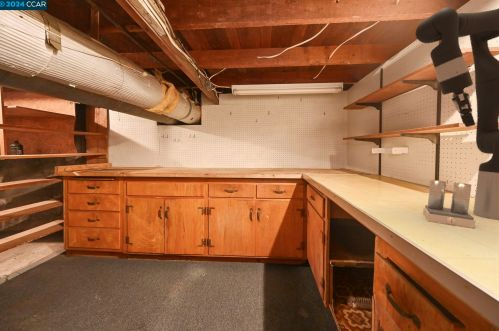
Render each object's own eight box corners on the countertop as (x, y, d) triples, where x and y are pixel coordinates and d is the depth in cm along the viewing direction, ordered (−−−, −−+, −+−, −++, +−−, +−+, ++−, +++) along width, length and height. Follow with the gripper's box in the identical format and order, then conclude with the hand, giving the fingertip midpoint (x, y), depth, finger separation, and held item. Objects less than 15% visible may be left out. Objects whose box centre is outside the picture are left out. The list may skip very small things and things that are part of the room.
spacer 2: (449, 210, 83) (452, 182, 82) (465, 212, 81) (469, 183, 80) (452, 213, 80) (455, 183, 79) (469, 215, 77) (473, 185, 76)
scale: (423, 213, 91) (423, 204, 91) (464, 219, 85) (465, 210, 85) (427, 221, 80) (428, 211, 80) (475, 229, 74) (476, 218, 74)
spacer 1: (426, 206, 88) (429, 179, 87) (441, 208, 86) (444, 181, 85) (428, 208, 85) (431, 181, 84) (444, 210, 82) (447, 182, 81)
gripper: (471, 68, 67) (489, 122, 67) (466, 71, 78) (481, 117, 78) (438, 81, 72) (455, 131, 72) (437, 81, 82) (452, 125, 83)
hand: (469, 124), depth 75 cm, fingers open, 8 cm apart
